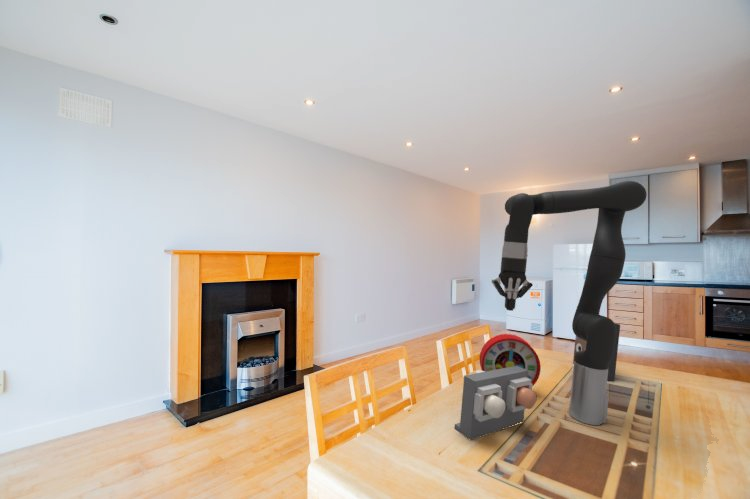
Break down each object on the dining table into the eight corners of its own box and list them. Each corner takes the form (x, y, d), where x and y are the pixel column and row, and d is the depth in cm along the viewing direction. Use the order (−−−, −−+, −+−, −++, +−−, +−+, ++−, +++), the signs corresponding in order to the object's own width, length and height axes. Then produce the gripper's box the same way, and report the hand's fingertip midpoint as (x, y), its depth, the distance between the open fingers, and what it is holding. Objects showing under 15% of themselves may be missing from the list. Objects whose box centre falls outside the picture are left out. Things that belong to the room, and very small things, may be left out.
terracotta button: (510, 402, 99) (512, 386, 99) (521, 399, 101) (523, 383, 101) (524, 410, 95) (525, 392, 95) (535, 407, 98) (537, 389, 97)
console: (506, 413, 108) (511, 363, 107) (529, 426, 101) (534, 373, 101) (454, 428, 97) (459, 372, 97) (475, 444, 90) (480, 384, 90)
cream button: (478, 411, 92) (479, 393, 92) (491, 408, 95) (492, 390, 95) (491, 419, 89) (493, 401, 88) (504, 416, 91) (506, 397, 91)
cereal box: (572, 365, 158) (577, 313, 157) (581, 365, 159) (586, 314, 158) (604, 381, 141) (610, 323, 140) (614, 381, 142) (620, 324, 141)
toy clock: (479, 389, 124) (483, 335, 123) (477, 382, 130) (481, 330, 129) (537, 398, 121) (543, 342, 120) (533, 391, 126) (538, 337, 126)
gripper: (529, 257, 114) (524, 309, 115) (489, 254, 114) (485, 306, 115) (540, 259, 106) (535, 314, 107) (497, 255, 106) (492, 311, 107)
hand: (509, 309), depth 111 cm, fingers closed
